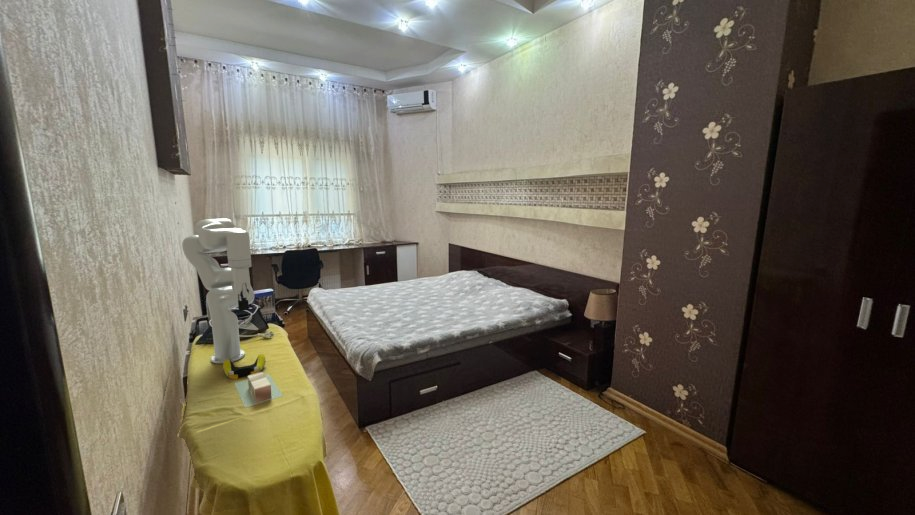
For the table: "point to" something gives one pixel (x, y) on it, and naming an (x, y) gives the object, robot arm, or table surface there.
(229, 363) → the gaming controller
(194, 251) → the robot arm
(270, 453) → the table surface
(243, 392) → the sage mat
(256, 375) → the birch pillar
